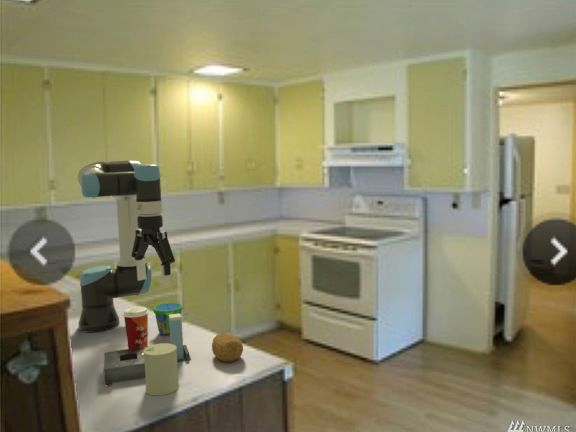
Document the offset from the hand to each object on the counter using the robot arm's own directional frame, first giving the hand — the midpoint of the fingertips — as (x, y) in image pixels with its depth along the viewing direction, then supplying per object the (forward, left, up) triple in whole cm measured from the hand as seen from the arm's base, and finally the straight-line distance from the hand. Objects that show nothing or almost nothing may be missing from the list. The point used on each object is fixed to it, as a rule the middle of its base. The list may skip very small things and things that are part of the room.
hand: (153, 282), depth 159 cm
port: (+4, -9, -26) cm, 28 cm away
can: (+18, -1, -27) cm, 32 cm away
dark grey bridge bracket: (-1, +6, -26) cm, 27 cm away
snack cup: (-29, +6, -27) cm, 40 cm away
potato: (+5, +21, -27) cm, 34 cm away
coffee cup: (-13, -6, -27) cm, 30 cm away
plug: (-1, +6, -26) cm, 27 cm away
